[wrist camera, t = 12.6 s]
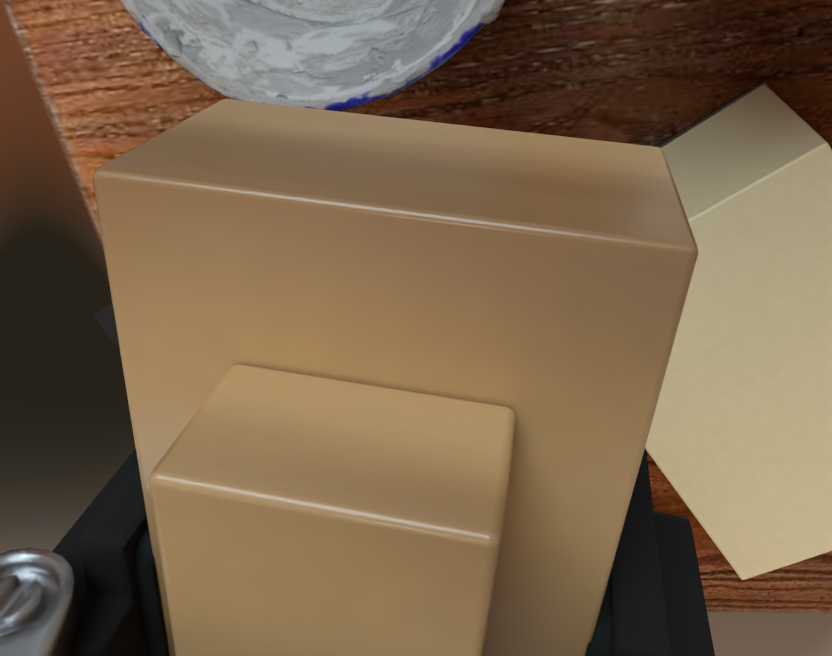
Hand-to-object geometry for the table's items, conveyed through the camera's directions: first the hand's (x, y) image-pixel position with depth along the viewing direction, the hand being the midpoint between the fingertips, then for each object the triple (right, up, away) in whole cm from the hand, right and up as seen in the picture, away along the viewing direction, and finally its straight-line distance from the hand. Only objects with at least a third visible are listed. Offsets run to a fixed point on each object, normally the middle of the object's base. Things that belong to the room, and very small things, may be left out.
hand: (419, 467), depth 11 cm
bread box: (+11, +4, +16) cm, 20 cm away
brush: (0, 0, 0) cm, 0 cm away
